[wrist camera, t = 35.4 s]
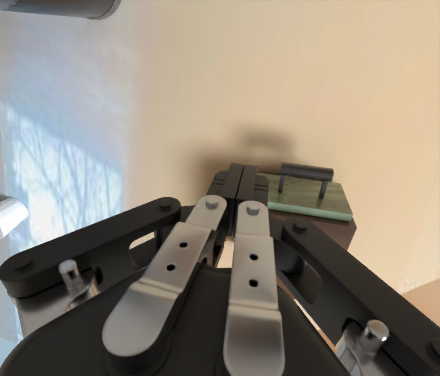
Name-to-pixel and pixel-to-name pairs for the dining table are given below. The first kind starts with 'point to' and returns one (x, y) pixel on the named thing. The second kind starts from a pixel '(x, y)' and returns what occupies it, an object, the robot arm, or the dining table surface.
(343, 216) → the drawer
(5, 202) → the white short cylinder
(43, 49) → the dining table surface
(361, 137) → the dining table surface
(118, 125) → the dining table surface
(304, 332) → the robot arm
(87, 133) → the dining table surface
